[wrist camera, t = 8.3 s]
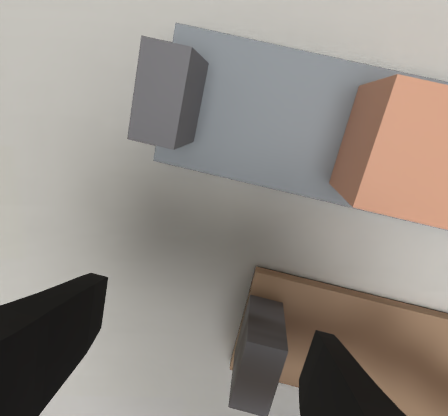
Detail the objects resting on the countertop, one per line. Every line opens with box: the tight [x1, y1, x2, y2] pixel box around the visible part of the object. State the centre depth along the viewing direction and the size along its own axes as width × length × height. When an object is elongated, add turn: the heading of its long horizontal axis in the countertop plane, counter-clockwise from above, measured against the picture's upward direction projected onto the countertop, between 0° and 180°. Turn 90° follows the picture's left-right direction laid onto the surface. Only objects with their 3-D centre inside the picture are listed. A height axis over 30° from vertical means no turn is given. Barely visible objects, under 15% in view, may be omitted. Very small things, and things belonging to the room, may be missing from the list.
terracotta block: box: [329, 74, 448, 230], centre depth 15 cm, size 5×5×5 cm
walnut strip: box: [229, 266, 448, 416], centre depth 19 cm, size 7×18×5 cm, turn 78°
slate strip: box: [127, 23, 448, 230], centre depth 16 cm, size 7×18×5 cm, turn 78°
